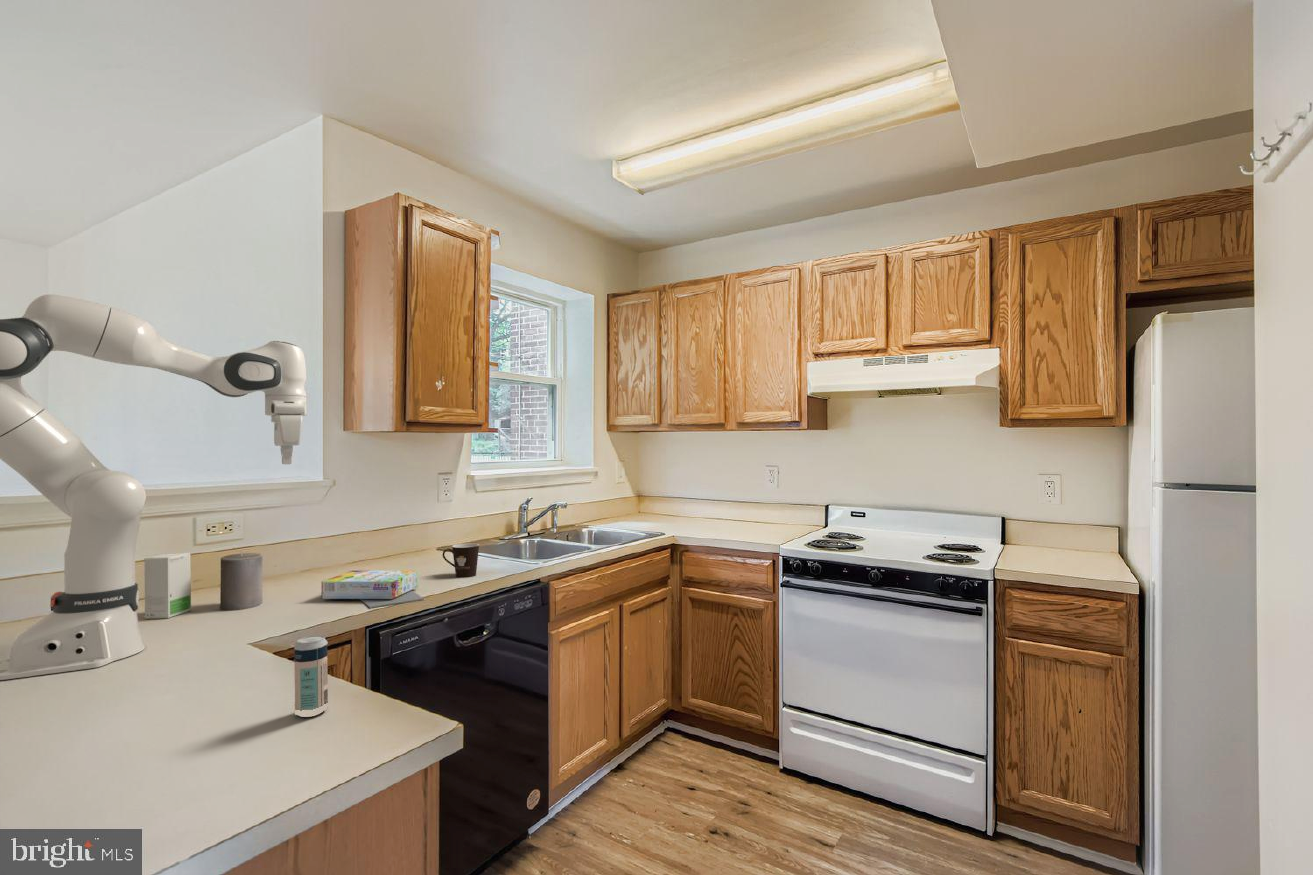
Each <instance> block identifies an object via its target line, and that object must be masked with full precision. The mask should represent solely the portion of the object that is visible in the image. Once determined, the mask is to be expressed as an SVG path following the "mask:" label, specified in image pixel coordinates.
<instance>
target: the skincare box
mask: <svg viewBox="0 0 1313 875" xmlns="http://www.w3.org/2000/svg"><path fill="white" fill-rule="evenodd" d="M143 561H144V619H146V620H148V619H149V620H150V619H153V620H154V619H158V620H159V619H170V618H172V617H175V616H178V615H182V614H185V613H187V612H188V613H189V612H190V611H192V585H191V584H192V582H191V581H192V579H191V577H192V574H191V572H192V571H191V570H192V569H191V568H192V567H191V566H192V565H191V552H180V553H166V554H160V555H154V556H149V557H144V559H143Z"/></svg>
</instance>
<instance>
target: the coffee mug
mask: <svg viewBox="0 0 1313 875" xmlns="http://www.w3.org/2000/svg"><path fill="white" fill-rule="evenodd" d="M479 549H480V544H479V543H473V542H470V543H468V542H467V543H466V542H465V543H457V544H454V545H452V546H451V548H447V549H444V550H443V551H442V558H443V559H444V561H445V562H447V564H449V565H451V566H453V567H454V573H455V577H456V578H459V579H460V578H461V579H464V578H465V579H466V578H472V577H475V576H477V569H478V568H477V567H478V560H479V551H480V550H479ZM447 551H448V552H450V553H452V556H453V563H452V562H451V561H450V560H448V559H447V558H446V556H445V553H446V552H447Z"/></svg>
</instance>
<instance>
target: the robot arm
mask: <svg viewBox="0 0 1313 875" xmlns="http://www.w3.org/2000/svg"><path fill="white" fill-rule="evenodd" d="M55 351H57V352H58V351H59V352H68V353H73V354H76V355H82V356H84V357H88V358H92V359H96V360H100V361H104V362H110V363H115V364H120V365H128V366H134V367H145V368H151V369H158V370H161V371H164V372H168V373H172V374H176V375H179V376H182V377H185V378H190V379H192V380H196V381H199V382H201V383H203V384H205V385H206V386H208V387H209V388H211V389H213V390H214V391H215V392H217V393H219V395H223V396H225V397H229V398H240V397H244V396H246V395H248V394H252V393H255V392H263V393H264V414H265V416H270V418H271V419H270V422H272V423H273V424H274V425H273V428H274V429H273V443H274V446H275V447H276V446H277V447H280V455H281V464H282V465H291V464H292V461H293V460H292V458H293V448H294V447H293V446H299V445H300V443H301V439H302V432H303V431H302V428H303V419H304V418H303V417H304V416H305V417H306V416H307V414H308V412H307V411H308V410H307V409H308V406H307V405H308V404H307V403H308V400H307V399H308V398H307V397H308V396H307V393H306V388H305V387H306V382H307V365H306V358H305V352H304V351H303V349H302V348H301V347H299V346H297V345H296V344H293V343H290V342H286V341H279V340H278V341H277V340H272V341H269V342H267V343H266V344H264V345H262V346H261V345H260V347H257V348H253V349H250V350H244V351H241V352H240V351H239V352H236V353H233V354H230V355H228V356H227V355H226V356H211V355H206V354H203V353H201V352H198V351H194V350H192V349H189V348H185V347H182V346H179V345H175V344H173V343H171V342H169V341H167V340H166V339H164V338H163V337H162V336H161V335H159V333H158V332H157V331H156V329H155V328H154V326H153V325H152V324H151V323H150V322H148V321H146V320H145V319H142V318H140V317H138V316H136V315H133V314H131V313H128V312H126V311H124V310H120V309H118V308H114V307H110V306H108V305H104V304H101V303H96V302H93V301H89V300H84V299H81V298H74V297H70V296H64V295H58V294H44V295H40V296H38V297H37V298H35V299H34V300H33V301H31V302H30V303H29V305H28V306H27V308H26V310H25V311H24V314H23V315H22V316H21V317H14V318H13V317H12V318H4V319H3V318H0V460H1V461H2V462H4V463H5V464H6V465H7V466H9V467H10V468H11V469H12V470H14V471H15V472H16V473H17V474H18V475H20V476H21V477H23V478H24V479H25V480H26V481H27V482H28V483H29V484H30V485H31V486H33V488H34V489H36V490H37V492H39V493H40V494H41V495H42V496H44V497H45V498H46V499H48V501H49V502H50V503H52V504H53V505H54V506H55V507H56V508H58V509H59V510H60V511H61V512H62V513H64V514H65V515H67V516H68V517H70V518H71V521H70V522H71V523H70V530H69V535H68V540H67V545H66V549H65V552H64V556H63V557H64V567H63V568H64V591H56V592H54V593H53V594H52V595H51V596H50V604H49V605H50V606H49V607H50V611H51V613H49V614H48V615H46V616H45V617H43V618H42V619H40V620H39V621H38V622H35V624H33V625H32V626H30V627H29V628H28V629H26V630H25V631H24V632H22V633H20V635H19V636H18V637H17V638H16V639H15V640H14V642H13V644H12V647H11V651H10V655H9V659H7V660H5V661H3V662H1V663H0V681H5V680H12V679H20V678H27V677H35V676H43V675H50V674H56V673H59V674H60V673H65V672H66V673H67V672H73V671H74V672H75V671H80V670H87V669H88V670H89V669H95V668H99V667H103V666H105V665H107V664H110V663H112V662H115V661H119V660H122V659H125V658H128V657H130V656H131V657H132V656H134V655H135V654H138V653H140V652H143V651H144V650H145V649H146V647H147V646H146V644H145V641H144V640H143V635H142V634H141V633H142V632H141V630H140V624H139V623H140V622H139V618H138V611H137V610H138V609H139V604H140V602H139V601H140V598H139V597H140V596H139V595H140V592H139V591H140V590H139V584H138V583H136V546H137V538H138V534H139V529H140V525H141V524H140V523H141V518H142V511H143V507H144V506H145V504H146V499H147V493H146V491H145V488H144V486H143V485H142V484H141V482H140V481H139V480H138V479H137V478H135V477H134V476H133V475H131V474H129V473H127V472H125V471H120V470H111V469H109V468H107V467H106V466H105V465H104V464H103V463H102V462H101V461H100V460H99V459H98V458H97V457H96V456H95V455H94V454H93V453H92V451H91V450H90V449H88V448H87V446H86V445H85V444H84V442H82V440H81V439H80V437H79V436H77V435H76V434H75V433H74V432H73V431H72V430H70V429H69V428H67V426H66V425H64V424H63V423H62V422H61V421H60V420H59V419H57V418H56V417H55V415H53V414H51V412H49V411H48V410H47V409H46V408H44V407H43V406H42V405H41V404H40V403H38V402H37V400H35V399H34V398H33V397H31V396H30V395H29V393H27V391H25V389H24V387H23V385H22V382H21V380H22V377H24V376H25V375H28V374H29V373H31V372H32V371H34V370H35V369H36V368H37V367H38V366H39V365H40V364H41V363H42V361H43V360H44V359H45V358H46V357H47V356H48V355H49V354H50V353H51V352H55Z"/></svg>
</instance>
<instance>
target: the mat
mask: <svg viewBox="0 0 1313 875" xmlns="http://www.w3.org/2000/svg"><path fill="white" fill-rule="evenodd" d="M359 600H360V601H361V602H362V603H363V604H364V605H365V606H367V607H368V608H369V609H375V608H383V607H387V606H395V605H399V604H407V603H413V602H418V601H424V600H425V598H424V597H423V596H421V595H419V594H418V593H416V592H415V591H413V590H410V591H408V592H406V593H404V594H402V595H400V596H398V597H395V598H393V599H359Z"/></svg>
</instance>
